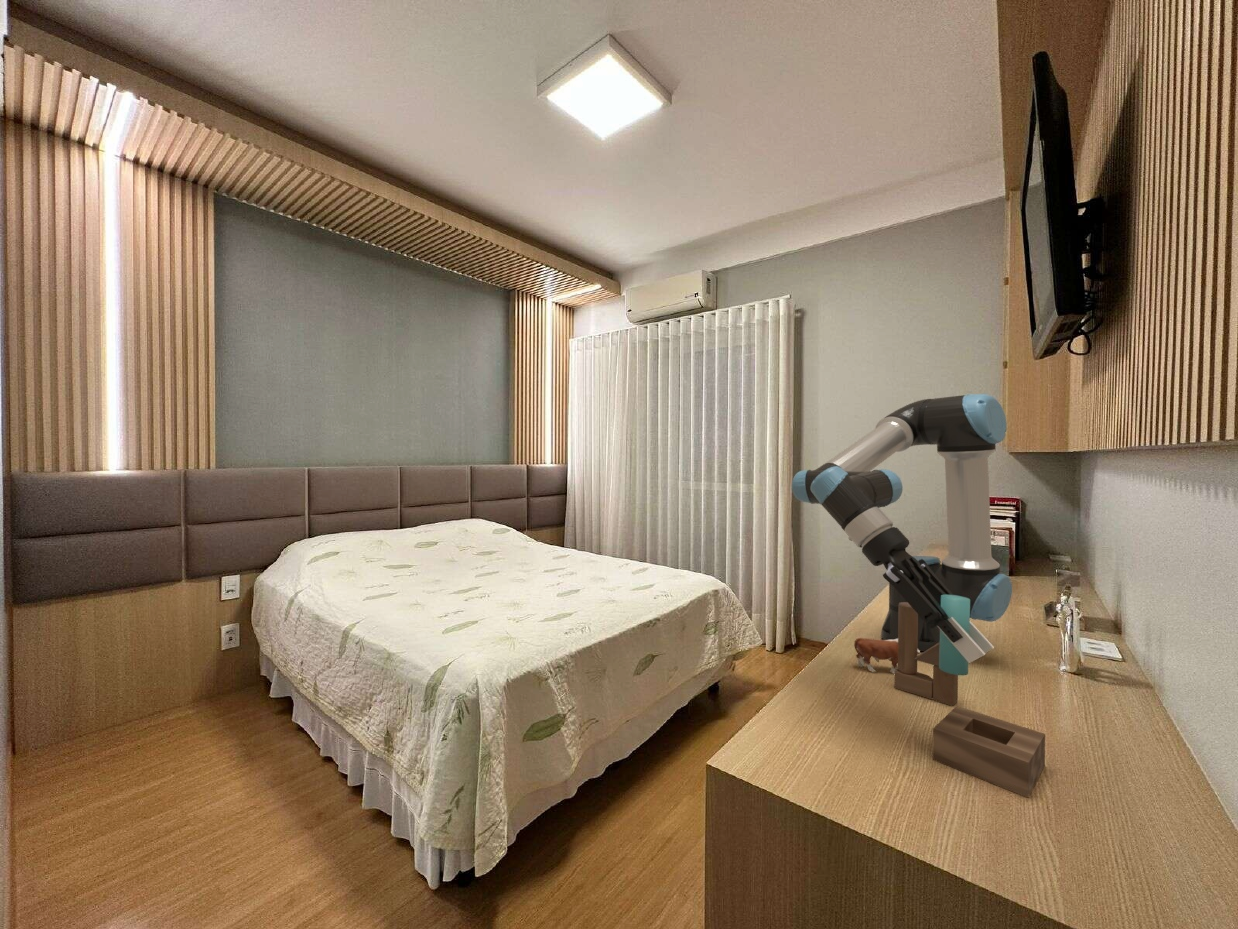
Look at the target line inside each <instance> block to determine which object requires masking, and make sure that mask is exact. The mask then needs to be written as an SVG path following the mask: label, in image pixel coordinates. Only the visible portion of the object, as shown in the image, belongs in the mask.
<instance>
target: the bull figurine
mask: <svg viewBox="0 0 1238 929" xmlns="http://www.w3.org/2000/svg"><path fill="white" fill-rule="evenodd" d="M853 644H854V645H853V647H854V649H855V651H856V655H855V657H856V659H857V665H858V666H859V667H860V668H862V667H863V668H864V667H865V665H866V666H867V669H868V671H870V672H871V671H872V672H871V673H873V672H876V673H877V671H876V670H875V669H874V667H873V666H872V664H871V659H872V658H874V660H875V661H876V663H879V662H880V660H881V661H885V660H886V661H887V660H888V661H889V662H891V668H890V673H892V675H894V674H895V671H896V670H897V669H898V639H894V640H892V639H891V640H883V639H874V638H873V639H871V638H863V637H859V638H856V640H854V643H853ZM920 654H921V652H920V651H919V649H918V650H917V656H918V655H920Z"/></svg>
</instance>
